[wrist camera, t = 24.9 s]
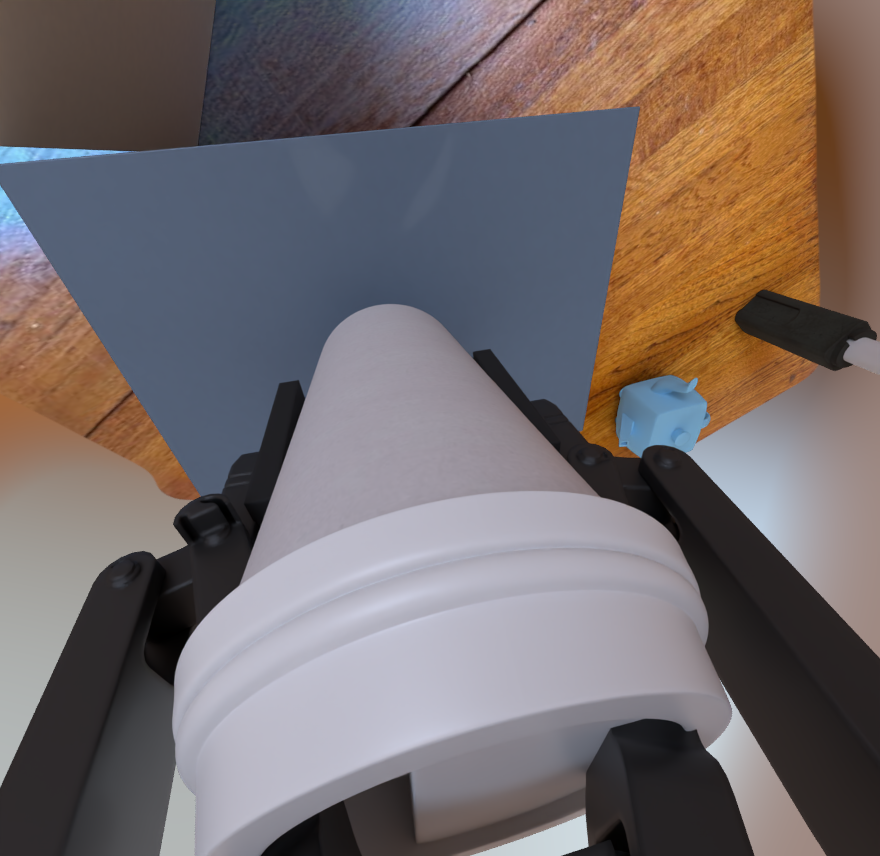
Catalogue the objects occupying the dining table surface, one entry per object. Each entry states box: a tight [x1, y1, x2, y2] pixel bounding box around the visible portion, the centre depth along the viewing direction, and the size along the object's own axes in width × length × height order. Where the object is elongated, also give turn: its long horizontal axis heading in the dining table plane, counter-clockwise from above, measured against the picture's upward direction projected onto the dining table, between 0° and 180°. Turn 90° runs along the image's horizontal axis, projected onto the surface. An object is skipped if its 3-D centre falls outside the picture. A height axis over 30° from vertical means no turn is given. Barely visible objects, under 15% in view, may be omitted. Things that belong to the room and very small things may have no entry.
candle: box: [735, 290, 880, 375], centre depth 44 cm, size 5×5×25 cm
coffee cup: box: [172, 304, 732, 856], centre depth 12 cm, size 10×10×15 cm
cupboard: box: [0, 107, 640, 496], centre depth 30 cm, size 18×26×24 cm
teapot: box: [615, 375, 710, 458], centre depth 55 cm, size 18×14×10 cm
